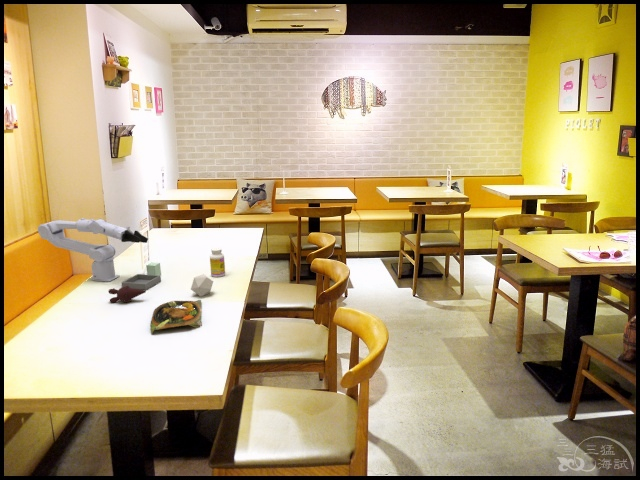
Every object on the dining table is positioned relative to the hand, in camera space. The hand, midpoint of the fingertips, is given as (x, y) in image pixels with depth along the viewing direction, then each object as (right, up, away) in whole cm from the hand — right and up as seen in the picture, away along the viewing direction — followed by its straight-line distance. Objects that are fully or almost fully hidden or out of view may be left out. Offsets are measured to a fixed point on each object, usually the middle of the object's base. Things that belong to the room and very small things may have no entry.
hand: (143, 240), depth 224 cm
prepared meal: (+26, -30, -38) cm, 55 cm away
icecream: (+1, -25, -21) cm, 33 cm away
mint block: (+1, -17, +11) cm, 20 cm away
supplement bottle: (+32, -17, +10) cm, 38 cm away
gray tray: (0, -20, -2) cm, 20 cm away
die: (+31, -23, -15) cm, 41 cm away
